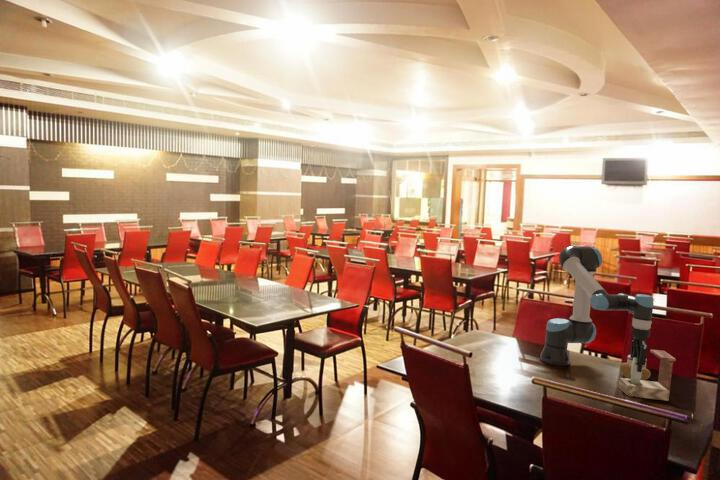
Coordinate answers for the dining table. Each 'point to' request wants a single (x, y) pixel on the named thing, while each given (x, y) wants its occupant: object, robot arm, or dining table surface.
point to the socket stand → (650, 387)
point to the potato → (626, 371)
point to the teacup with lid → (632, 360)
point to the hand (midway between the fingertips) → (635, 376)
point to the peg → (634, 380)
